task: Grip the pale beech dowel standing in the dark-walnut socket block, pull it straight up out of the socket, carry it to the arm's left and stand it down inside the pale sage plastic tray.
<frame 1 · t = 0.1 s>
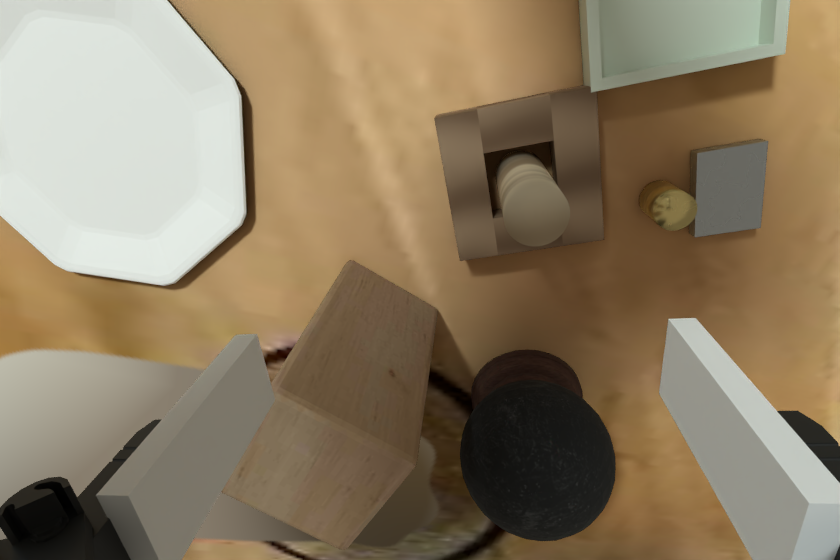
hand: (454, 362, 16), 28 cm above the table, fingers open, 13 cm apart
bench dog: (657, 198, 40), on the table
dowel: (526, 191, 35), in the socket block
plate: (103, 134, 43), on the table
socket block: (519, 174, 40), on the table
steel plate: (722, 187, 39), on the table
wooden block: (371, 319, 48), on the table
black ball on stand: (525, 394, 50), on the table
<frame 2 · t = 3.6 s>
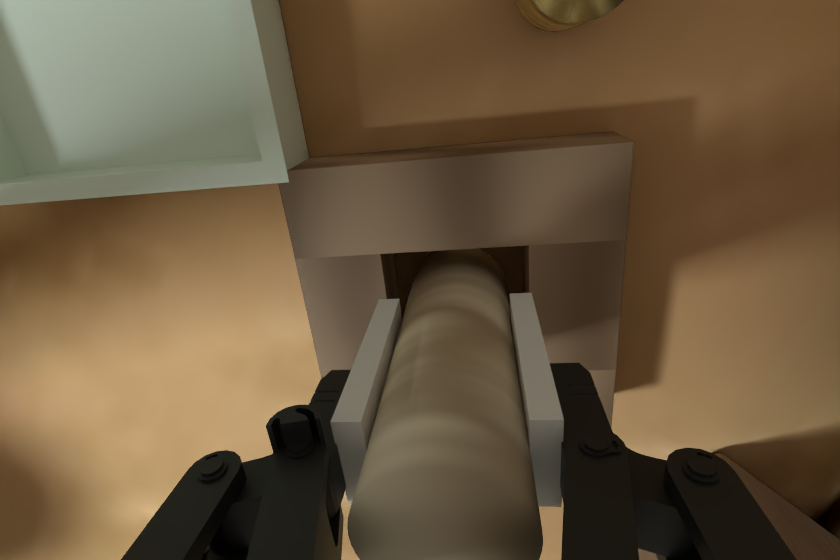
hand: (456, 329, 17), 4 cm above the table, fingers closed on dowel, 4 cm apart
dowel: (453, 368, 15), in the socket block, touching gripper
socket block: (459, 287, 21), on the table
tray: (109, 6, 17), on the table
wooden block: (701, 542, 26), on the table
when the fingers open (5 cm above the table, at t = 9.4 s): dowel stays where it is, resting on tray.
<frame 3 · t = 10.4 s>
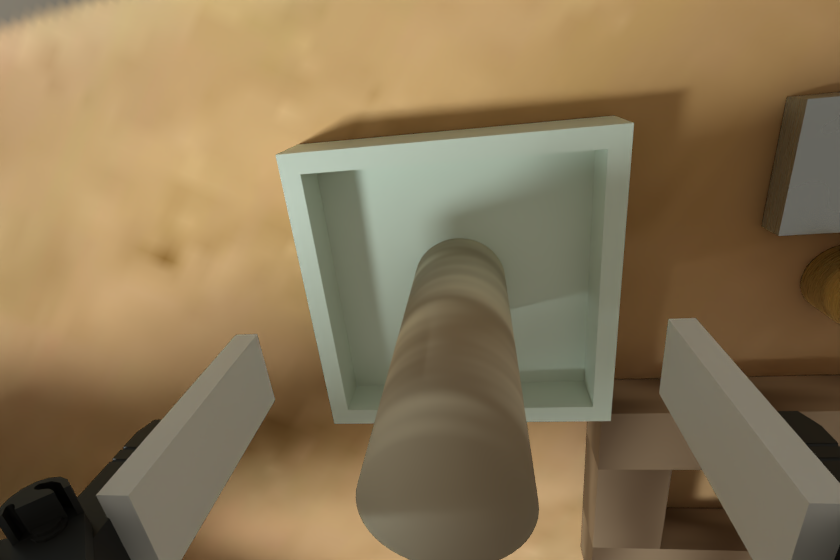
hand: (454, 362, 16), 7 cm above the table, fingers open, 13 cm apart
dowel: (455, 355, 16), in the tray, point 7 cm above the table
socket block: (702, 471, 25), on the table
tray: (459, 275, 22), on the table
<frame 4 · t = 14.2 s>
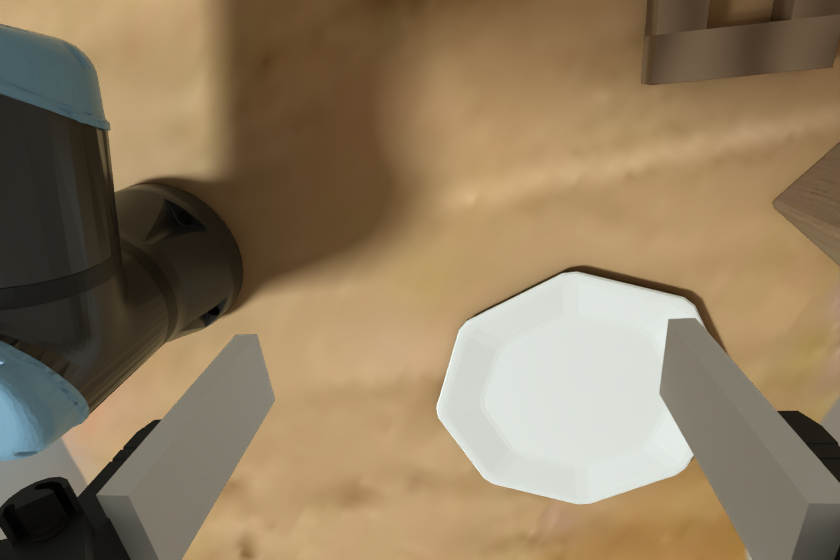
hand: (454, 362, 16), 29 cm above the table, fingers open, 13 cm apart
plate: (574, 392, 50), on the table
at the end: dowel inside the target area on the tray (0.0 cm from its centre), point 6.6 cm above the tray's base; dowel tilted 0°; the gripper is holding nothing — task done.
